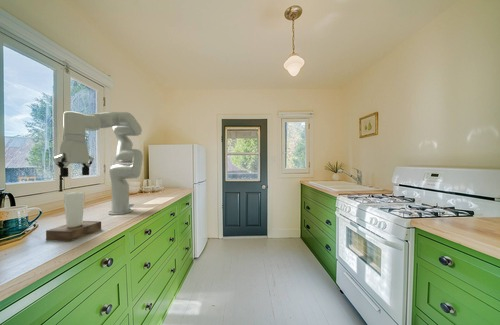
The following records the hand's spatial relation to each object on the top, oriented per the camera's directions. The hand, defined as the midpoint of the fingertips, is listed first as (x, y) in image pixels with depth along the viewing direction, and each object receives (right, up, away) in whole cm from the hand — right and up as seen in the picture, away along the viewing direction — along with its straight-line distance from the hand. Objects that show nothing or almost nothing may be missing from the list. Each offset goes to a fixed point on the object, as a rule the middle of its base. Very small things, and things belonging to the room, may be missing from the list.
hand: (75, 175), depth 90 cm
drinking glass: (+2, -23, -3) cm, 23 cm away
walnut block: (+2, -26, -2) cm, 27 cm away
